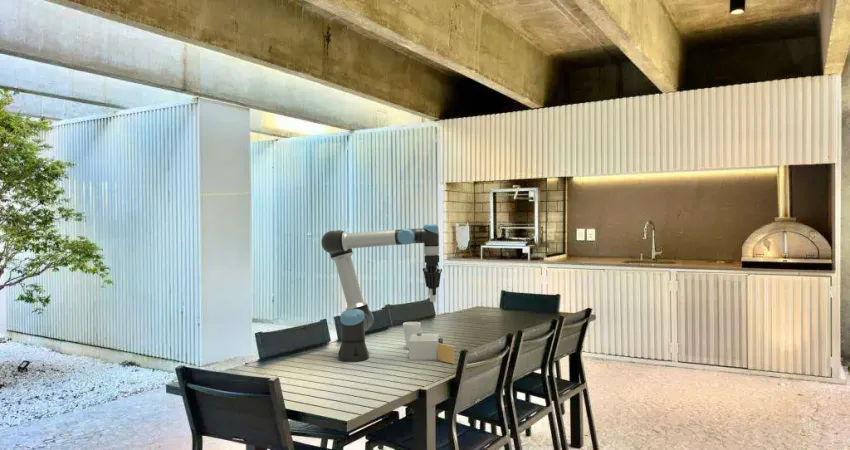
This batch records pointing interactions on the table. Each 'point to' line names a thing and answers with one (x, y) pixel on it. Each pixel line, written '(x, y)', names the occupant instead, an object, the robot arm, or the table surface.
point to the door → (445, 352)
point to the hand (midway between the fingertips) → (432, 301)
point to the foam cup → (410, 330)
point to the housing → (423, 346)
